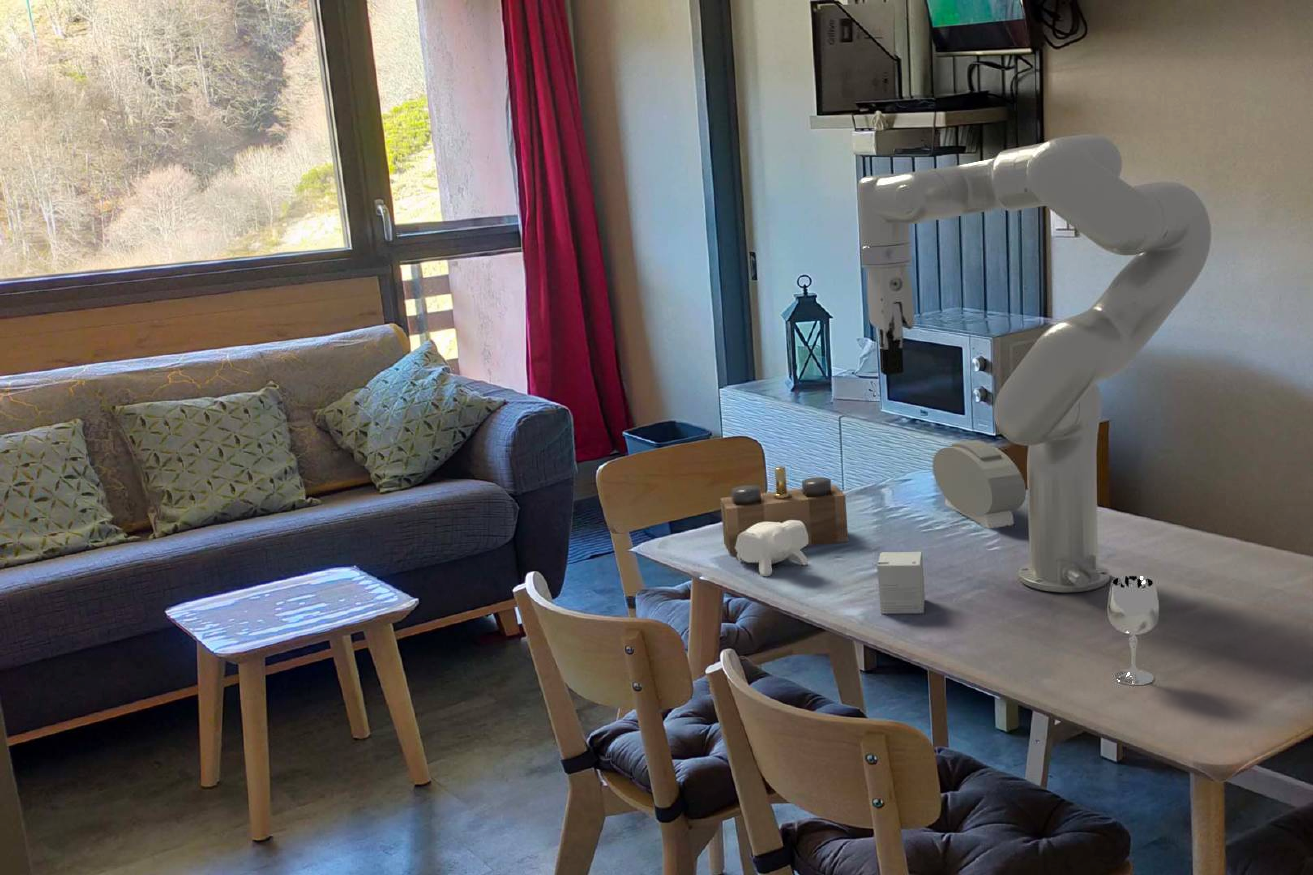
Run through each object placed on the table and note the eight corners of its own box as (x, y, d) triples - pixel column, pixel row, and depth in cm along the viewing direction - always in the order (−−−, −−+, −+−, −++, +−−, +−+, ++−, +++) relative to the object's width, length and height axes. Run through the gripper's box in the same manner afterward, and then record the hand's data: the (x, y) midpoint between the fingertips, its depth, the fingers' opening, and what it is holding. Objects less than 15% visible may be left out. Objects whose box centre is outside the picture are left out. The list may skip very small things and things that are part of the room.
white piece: (737, 583, 208) (786, 571, 195) (723, 533, 209) (770, 517, 196) (780, 571, 212) (830, 558, 199) (765, 522, 213) (815, 505, 200)
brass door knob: (792, 497, 214) (790, 469, 213) (774, 499, 213) (772, 471, 212) (789, 493, 217) (786, 464, 216) (771, 495, 216) (769, 466, 215)
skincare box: (925, 599, 185) (922, 550, 183) (923, 614, 179) (921, 564, 177) (882, 599, 186) (880, 551, 184) (879, 614, 180) (876, 564, 179)
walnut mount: (848, 541, 214) (845, 495, 212) (730, 555, 213) (726, 508, 211) (838, 529, 221) (835, 484, 219) (724, 542, 219) (720, 498, 218)
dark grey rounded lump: (766, 542, 214) (762, 491, 212) (738, 546, 214) (733, 494, 212) (761, 534, 219) (757, 484, 217) (733, 538, 218) (729, 487, 216)
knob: (836, 534, 215) (833, 483, 213) (808, 537, 214) (805, 486, 213) (830, 526, 219) (827, 476, 218) (802, 530, 219) (799, 479, 217)
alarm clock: (1028, 529, 212) (1025, 454, 209) (993, 534, 211) (991, 459, 208) (965, 496, 234) (962, 428, 231) (934, 500, 233) (930, 432, 230)
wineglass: (1107, 685, 151) (1105, 589, 148) (1109, 666, 156) (1107, 573, 154) (1159, 688, 149) (1159, 591, 146) (1159, 669, 154) (1158, 574, 152)
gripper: (924, 257, 190) (929, 378, 194) (896, 250, 205) (902, 363, 209) (874, 262, 189) (881, 383, 193) (850, 255, 204) (857, 368, 208)
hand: (892, 372), depth 201 cm, fingers closed
